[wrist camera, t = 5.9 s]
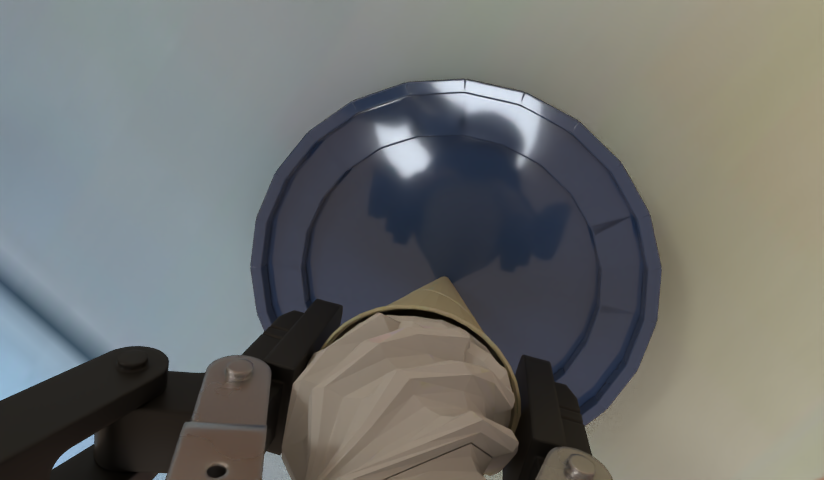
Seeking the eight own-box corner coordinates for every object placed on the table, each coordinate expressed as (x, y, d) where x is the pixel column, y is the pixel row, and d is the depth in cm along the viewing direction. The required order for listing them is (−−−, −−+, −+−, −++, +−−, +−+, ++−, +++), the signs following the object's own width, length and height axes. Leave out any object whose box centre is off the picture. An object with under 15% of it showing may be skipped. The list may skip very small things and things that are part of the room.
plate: (205, 274, 22) (181, 289, 20) (438, -13, 17) (431, -24, 16) (454, 494, 23) (451, 526, 21) (735, 278, 19) (759, 297, 17)
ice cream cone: (472, 195, 19) (398, 536, 4) (533, 311, 19) (639, 915, 5) (356, 253, 20) (8, 660, 6) (418, 359, 21) (252, 945, 6)
